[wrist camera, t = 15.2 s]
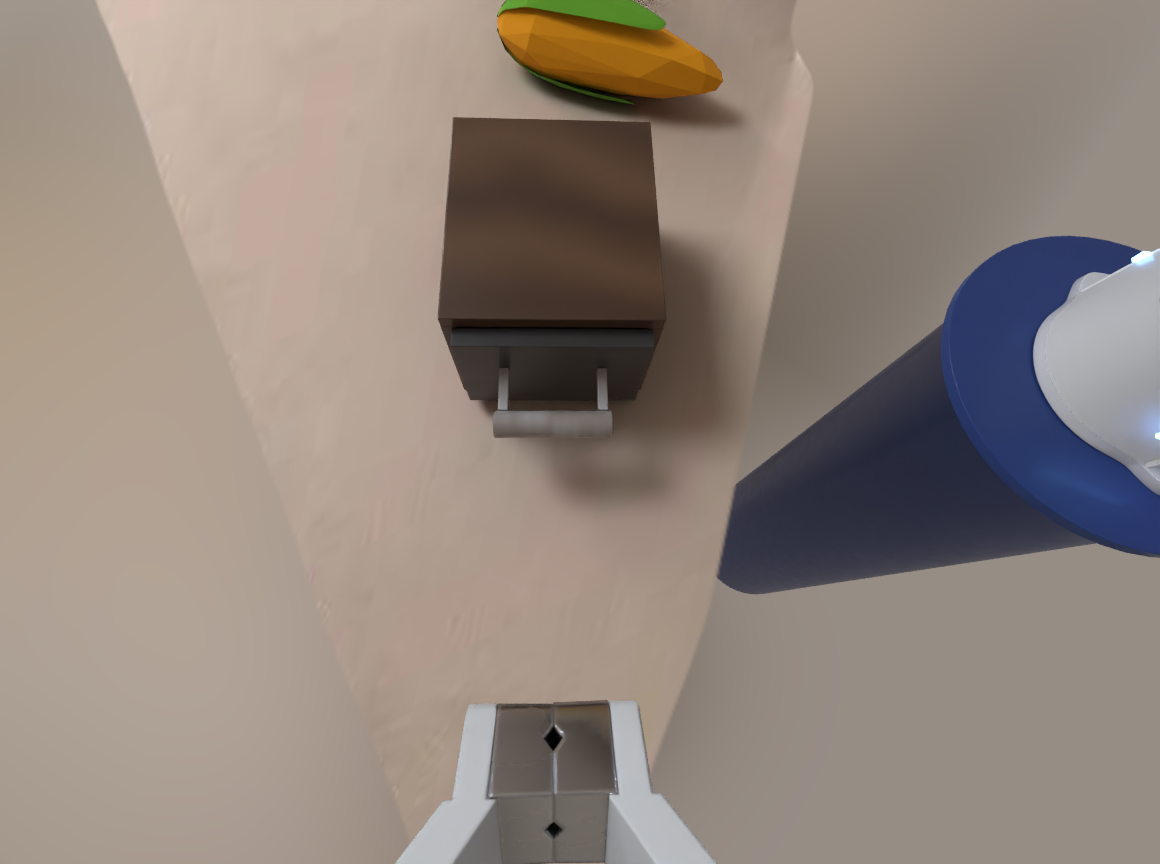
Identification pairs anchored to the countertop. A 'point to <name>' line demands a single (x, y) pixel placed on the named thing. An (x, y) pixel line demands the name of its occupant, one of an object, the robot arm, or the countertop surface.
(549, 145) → the cabinet
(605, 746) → the robot arm
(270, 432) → the countertop surface
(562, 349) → the drawer
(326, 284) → the countertop surface
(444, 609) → the countertop surface
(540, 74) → the corn
